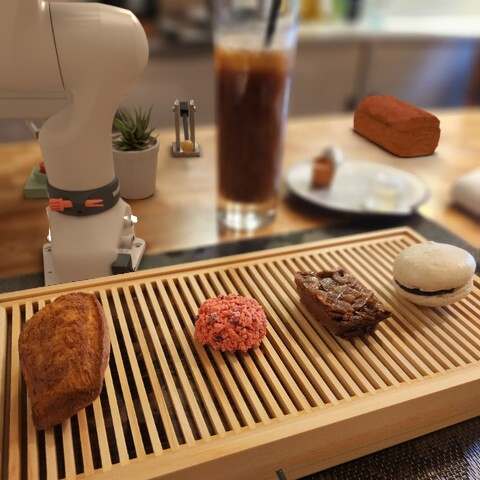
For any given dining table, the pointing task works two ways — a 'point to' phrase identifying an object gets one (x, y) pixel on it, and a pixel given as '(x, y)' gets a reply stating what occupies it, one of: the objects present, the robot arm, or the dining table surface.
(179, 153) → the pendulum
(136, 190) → the potted plant
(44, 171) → the lock button
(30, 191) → the green button base
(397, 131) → the bread
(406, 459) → the dining table surface
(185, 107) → the lever
